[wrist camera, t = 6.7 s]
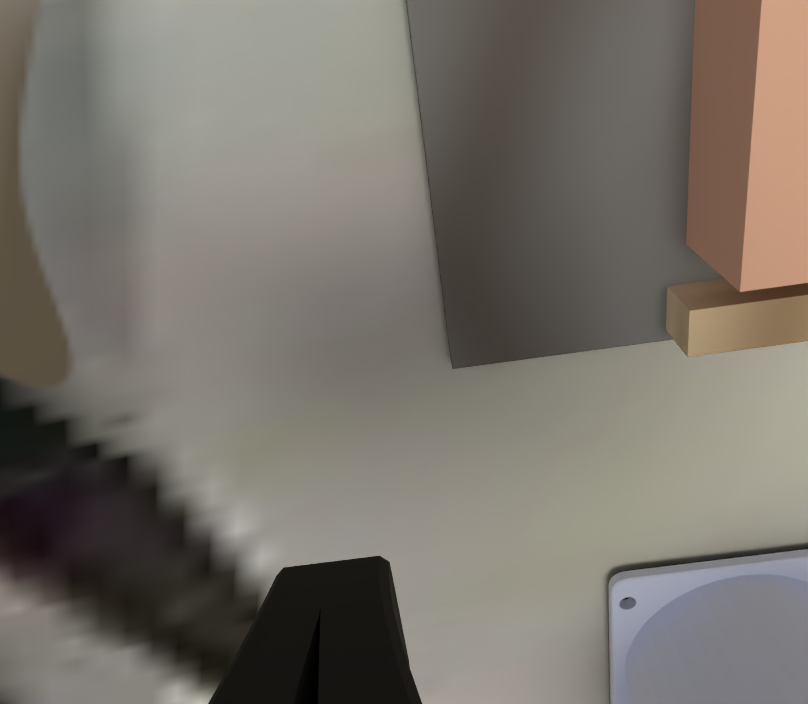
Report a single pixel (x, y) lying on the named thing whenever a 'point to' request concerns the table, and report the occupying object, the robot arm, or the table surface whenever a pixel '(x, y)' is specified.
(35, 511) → the table surface
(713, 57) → the t block
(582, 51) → the t frame
